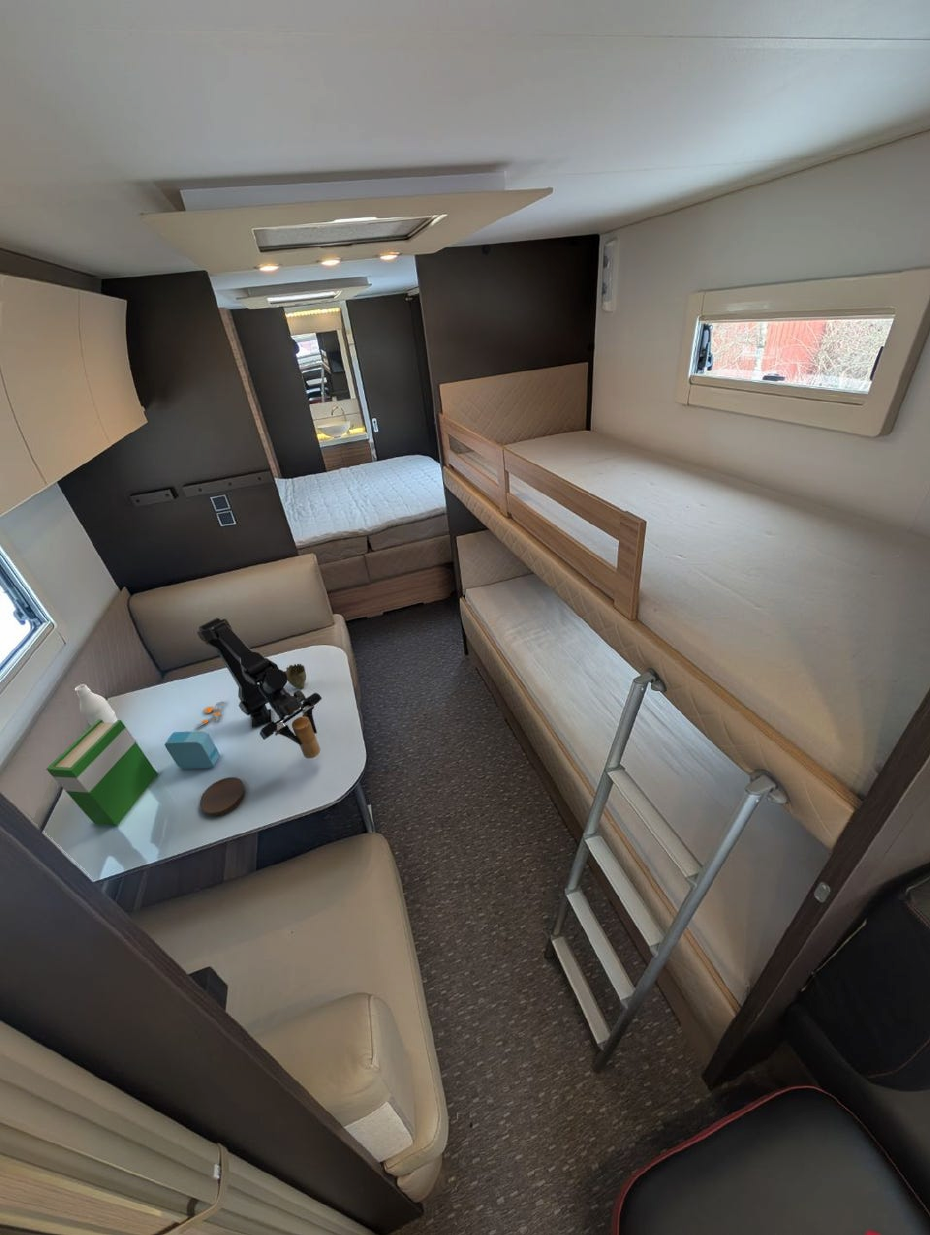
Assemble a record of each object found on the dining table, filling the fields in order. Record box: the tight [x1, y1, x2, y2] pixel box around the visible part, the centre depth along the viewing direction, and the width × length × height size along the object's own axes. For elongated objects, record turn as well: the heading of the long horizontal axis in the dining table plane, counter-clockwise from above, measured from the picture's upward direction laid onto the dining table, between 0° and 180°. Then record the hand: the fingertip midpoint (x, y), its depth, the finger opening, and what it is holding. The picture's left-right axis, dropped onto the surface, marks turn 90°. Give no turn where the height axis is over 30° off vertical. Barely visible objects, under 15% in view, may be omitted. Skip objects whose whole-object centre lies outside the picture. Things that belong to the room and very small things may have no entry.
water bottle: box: [74, 683, 118, 727], centre depth 156 cm, size 7×7×25 cm
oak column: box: [291, 715, 321, 759], centre depth 140 cm, size 5×5×12 cm
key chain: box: [195, 701, 226, 730], centre depth 169 cm, size 13×7×1 cm, turn 2°
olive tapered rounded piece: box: [284, 663, 307, 690], centre depth 177 cm, size 8×7×8 cm
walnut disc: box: [199, 776, 247, 818], centre depth 139 cm, size 12×12×2 cm
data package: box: [164, 730, 221, 770], centre depth 148 cm, size 12×4×12 cm, turn 87°
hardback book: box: [46, 719, 159, 827], centre depth 136 cm, size 18×7×24 cm, turn 172°
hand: (308, 738), depth 139 cm, fingers closed on oak column, 5 cm apart
